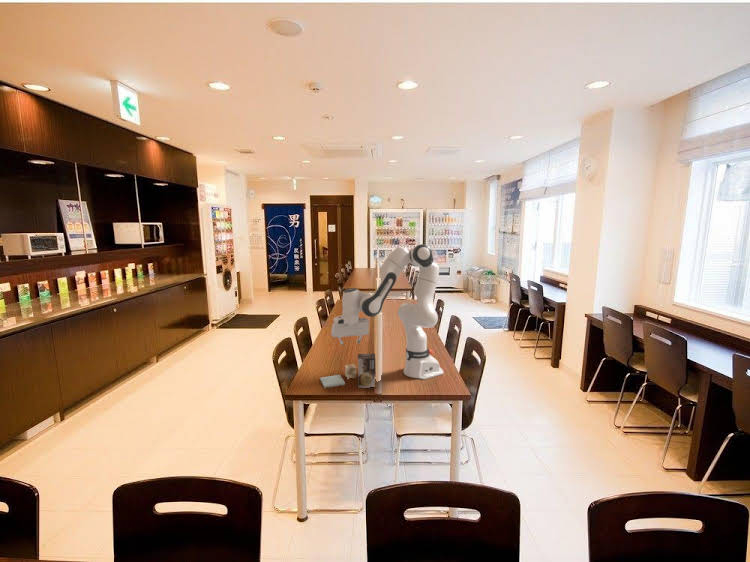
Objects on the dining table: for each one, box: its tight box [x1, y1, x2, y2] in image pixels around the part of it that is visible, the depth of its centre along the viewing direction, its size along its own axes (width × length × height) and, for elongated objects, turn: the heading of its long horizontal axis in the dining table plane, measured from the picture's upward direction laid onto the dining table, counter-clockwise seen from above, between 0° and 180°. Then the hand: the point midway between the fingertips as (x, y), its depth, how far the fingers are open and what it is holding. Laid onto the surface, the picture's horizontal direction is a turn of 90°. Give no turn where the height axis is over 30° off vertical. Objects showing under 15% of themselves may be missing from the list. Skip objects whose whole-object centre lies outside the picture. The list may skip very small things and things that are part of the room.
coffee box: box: [357, 353, 377, 389], centre depth 181 cm, size 9×6×16 cm
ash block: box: [344, 363, 357, 380], centre depth 193 cm, size 5×5×6 cm
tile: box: [319, 374, 346, 389], centre depth 186 cm, size 11×11×1 cm
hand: (350, 343), depth 190 cm, fingers open, 8 cm apart
